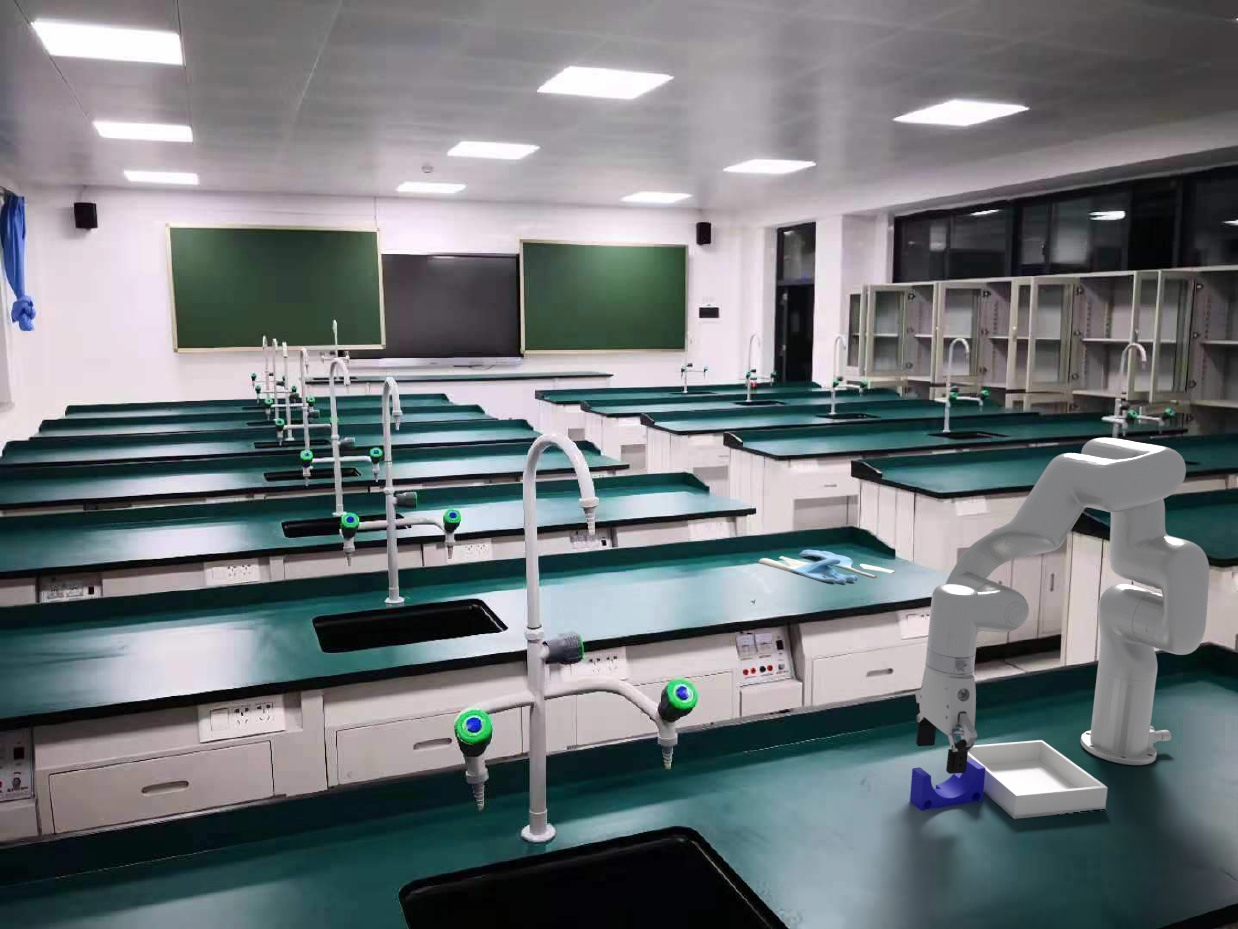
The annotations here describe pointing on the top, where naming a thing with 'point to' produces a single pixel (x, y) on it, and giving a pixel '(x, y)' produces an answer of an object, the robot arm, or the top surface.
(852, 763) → the top surface
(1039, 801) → the tray
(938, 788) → the cable clip
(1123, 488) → the robot arm
